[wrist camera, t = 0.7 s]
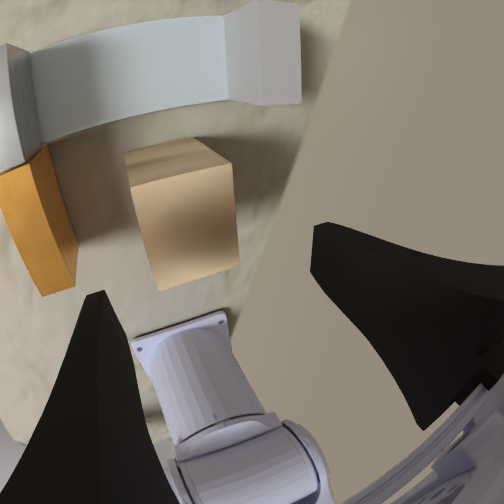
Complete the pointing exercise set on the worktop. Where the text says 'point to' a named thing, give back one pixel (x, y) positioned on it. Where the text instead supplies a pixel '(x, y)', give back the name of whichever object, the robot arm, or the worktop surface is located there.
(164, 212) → the block
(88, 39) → the vise
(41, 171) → the free jaw
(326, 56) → the worktop surface
